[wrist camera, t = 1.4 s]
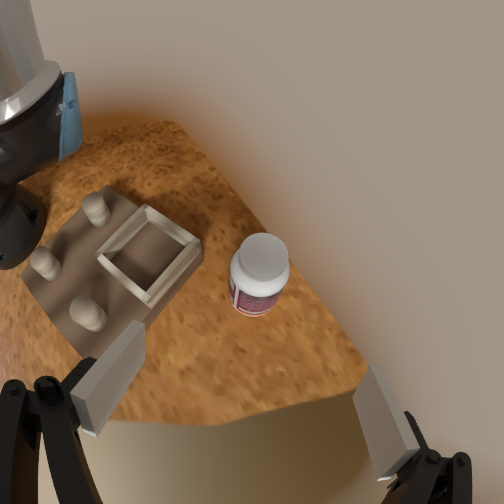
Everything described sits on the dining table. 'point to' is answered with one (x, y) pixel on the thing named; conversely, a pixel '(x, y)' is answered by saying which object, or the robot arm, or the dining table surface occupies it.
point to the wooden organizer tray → (110, 270)
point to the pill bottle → (258, 274)
